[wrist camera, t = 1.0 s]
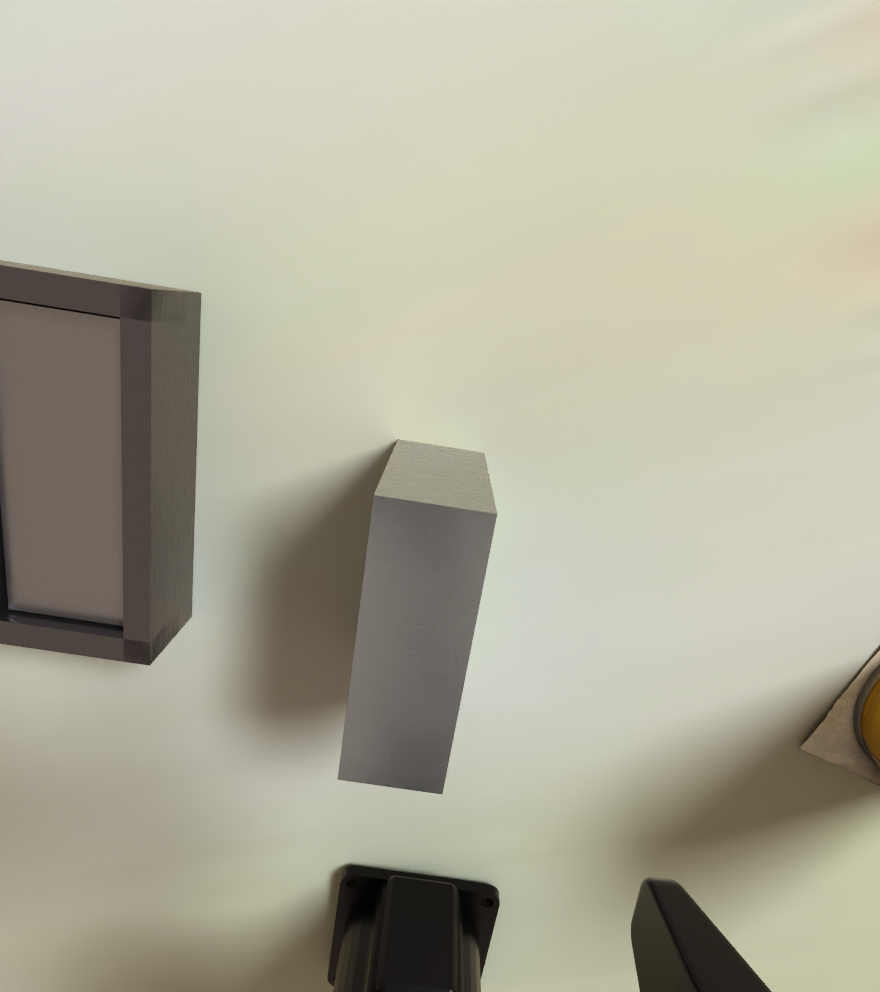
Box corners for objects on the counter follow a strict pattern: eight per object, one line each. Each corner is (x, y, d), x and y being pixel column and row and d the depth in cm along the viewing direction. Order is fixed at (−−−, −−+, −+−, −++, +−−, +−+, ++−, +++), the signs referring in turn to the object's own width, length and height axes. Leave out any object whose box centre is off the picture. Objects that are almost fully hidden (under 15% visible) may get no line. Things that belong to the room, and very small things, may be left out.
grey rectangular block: (445, 664, 21) (442, 794, 16) (369, 653, 21) (337, 779, 16) (484, 452, 19) (496, 513, 13) (398, 438, 19) (373, 495, 13)
